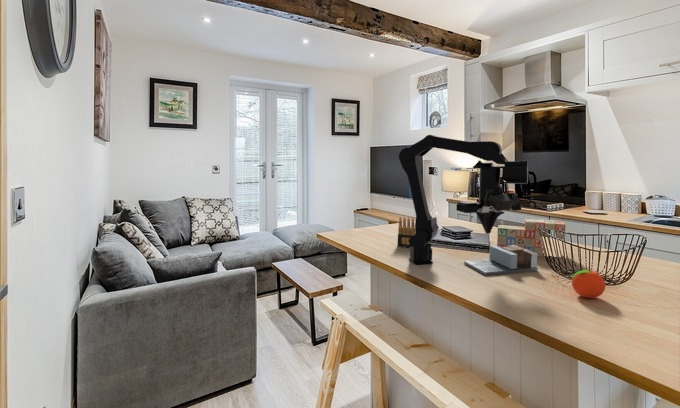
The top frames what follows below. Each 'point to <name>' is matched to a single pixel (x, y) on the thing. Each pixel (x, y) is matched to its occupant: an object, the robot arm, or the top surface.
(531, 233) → the stack of blocks
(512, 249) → the walnut block
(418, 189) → the robot arm
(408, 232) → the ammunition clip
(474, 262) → the vise base
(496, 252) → the plate
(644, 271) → the top surface
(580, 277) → the clementine
